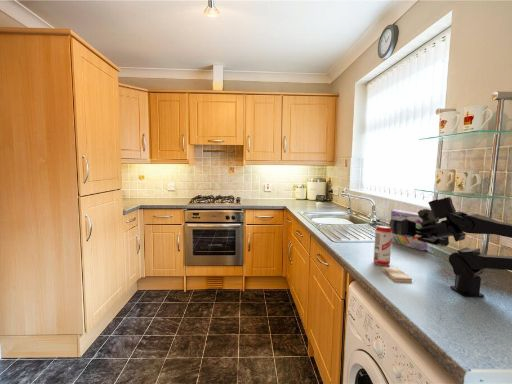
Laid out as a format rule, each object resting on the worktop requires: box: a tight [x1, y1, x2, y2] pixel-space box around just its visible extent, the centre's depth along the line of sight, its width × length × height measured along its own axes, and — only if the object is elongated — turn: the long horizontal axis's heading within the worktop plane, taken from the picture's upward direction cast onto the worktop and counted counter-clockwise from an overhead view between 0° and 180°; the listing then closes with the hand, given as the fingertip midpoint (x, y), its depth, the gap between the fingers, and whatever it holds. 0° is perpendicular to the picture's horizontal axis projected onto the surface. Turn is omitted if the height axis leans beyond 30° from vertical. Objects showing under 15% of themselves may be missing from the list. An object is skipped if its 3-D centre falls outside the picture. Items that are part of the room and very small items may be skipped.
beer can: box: [373, 224, 392, 267], centre depth 110 cm, size 6×6×16 cm
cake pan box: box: [388, 209, 429, 251], centre depth 135 cm, size 19×5×18 cm, turn 23°
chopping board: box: [381, 266, 413, 283], centre depth 99 cm, size 10×6×1 cm, turn 179°
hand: (408, 236), depth 107 cm, fingers open, 9 cm apart
